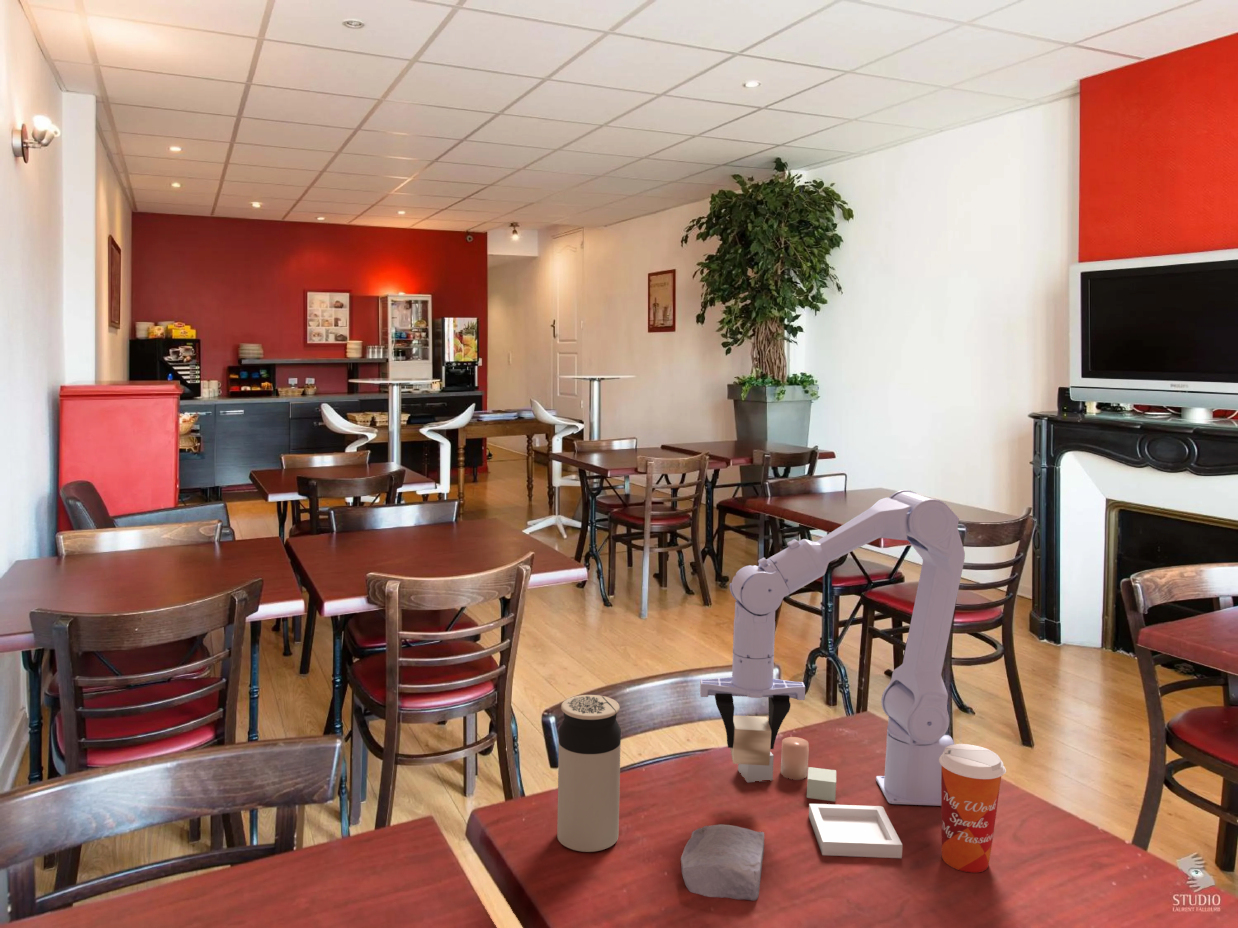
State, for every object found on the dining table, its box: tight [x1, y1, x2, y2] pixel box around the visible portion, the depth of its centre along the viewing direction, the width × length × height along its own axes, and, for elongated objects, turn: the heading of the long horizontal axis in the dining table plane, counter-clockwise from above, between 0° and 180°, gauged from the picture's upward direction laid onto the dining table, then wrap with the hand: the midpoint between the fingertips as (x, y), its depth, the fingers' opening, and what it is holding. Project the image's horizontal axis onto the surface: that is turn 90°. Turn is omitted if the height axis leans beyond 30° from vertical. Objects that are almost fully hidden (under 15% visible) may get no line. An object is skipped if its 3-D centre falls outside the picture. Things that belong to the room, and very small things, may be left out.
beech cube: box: [729, 714, 771, 766], centre depth 129 cm, size 5×5×5 cm
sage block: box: [806, 766, 837, 802], centre depth 133 cm, size 4×4×3 cm
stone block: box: [680, 823, 765, 902], centre depth 112 cm, size 12×5×10 cm
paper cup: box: [939, 743, 1007, 874], centre depth 115 cm, size 8×8×14 cm
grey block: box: [737, 751, 775, 783], centre depth 138 cm, size 4×4×4 cm
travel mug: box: [556, 694, 622, 853], centre depth 118 cm, size 8×8×18 cm
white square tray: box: [808, 803, 903, 859], centre depth 121 cm, size 10×10×2 cm
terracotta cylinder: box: [780, 736, 810, 781], centre depth 138 cm, size 4×4×5 cm
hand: (750, 745), depth 129 cm, fingers closed on beech cube, 5 cm apart
